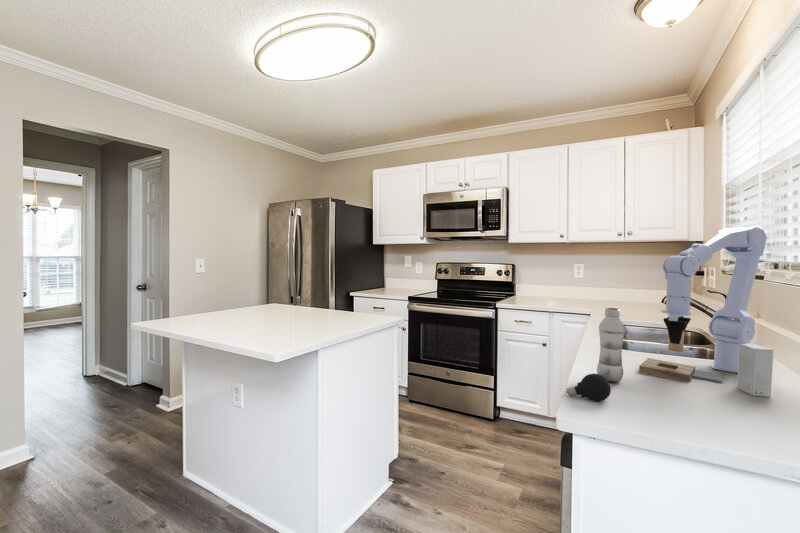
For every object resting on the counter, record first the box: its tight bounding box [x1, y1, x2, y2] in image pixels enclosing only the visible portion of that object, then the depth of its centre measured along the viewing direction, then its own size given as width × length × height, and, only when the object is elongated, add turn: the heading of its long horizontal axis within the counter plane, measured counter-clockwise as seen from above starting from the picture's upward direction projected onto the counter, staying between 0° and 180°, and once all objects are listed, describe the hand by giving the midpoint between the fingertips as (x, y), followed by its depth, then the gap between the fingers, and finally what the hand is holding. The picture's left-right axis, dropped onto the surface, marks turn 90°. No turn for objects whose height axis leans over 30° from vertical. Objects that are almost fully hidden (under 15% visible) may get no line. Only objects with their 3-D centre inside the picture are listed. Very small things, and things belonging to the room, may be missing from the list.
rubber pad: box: [692, 368, 725, 384], centre depth 111 cm, size 8×7×1 cm
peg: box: [667, 330, 685, 353], centre depth 114 cm, size 4×4×6 cm
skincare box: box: [736, 343, 774, 398], centre depth 99 cm, size 6×4×12 cm
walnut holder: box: [638, 357, 696, 383], centre depth 115 cm, size 12×12×2 cm
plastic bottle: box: [596, 307, 626, 383], centre depth 106 cm, size 6×7×20 cm
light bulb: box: [565, 373, 611, 403], centre depth 92 cm, size 6×6×10 cm
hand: (676, 342), depth 114 cm, fingers closed on peg, 4 cm apart
